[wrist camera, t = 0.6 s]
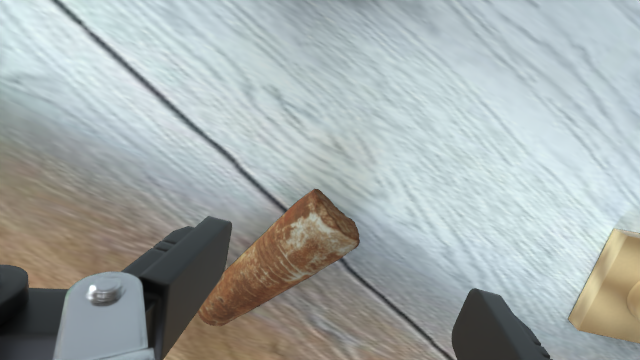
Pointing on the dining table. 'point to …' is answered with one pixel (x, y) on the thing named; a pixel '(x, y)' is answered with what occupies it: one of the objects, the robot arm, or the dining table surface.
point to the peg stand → (612, 291)
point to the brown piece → (282, 258)
